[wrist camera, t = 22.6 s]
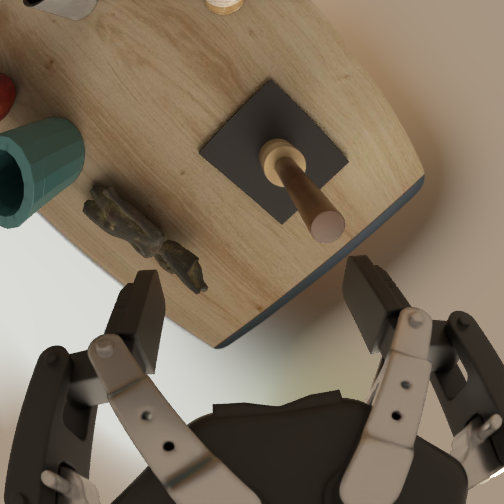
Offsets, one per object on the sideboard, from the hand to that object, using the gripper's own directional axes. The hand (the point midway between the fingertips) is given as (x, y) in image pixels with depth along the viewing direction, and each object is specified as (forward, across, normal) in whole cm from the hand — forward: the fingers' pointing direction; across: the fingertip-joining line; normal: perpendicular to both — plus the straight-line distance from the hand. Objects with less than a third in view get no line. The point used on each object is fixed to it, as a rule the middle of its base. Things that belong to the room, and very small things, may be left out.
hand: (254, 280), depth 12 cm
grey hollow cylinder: (+25, +18, -23) cm, 39 cm away
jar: (+25, +24, -3) cm, 35 cm away
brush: (+24, -5, 0) cm, 25 cm away
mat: (+25, -5, 0) cm, 25 cm away
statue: (+25, +12, +9) cm, 29 cm away
